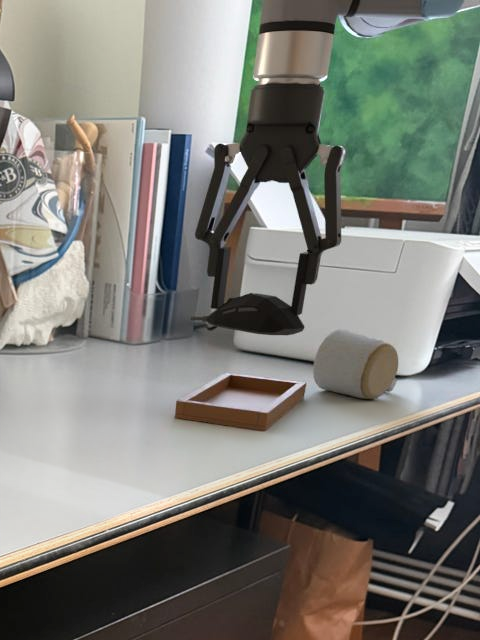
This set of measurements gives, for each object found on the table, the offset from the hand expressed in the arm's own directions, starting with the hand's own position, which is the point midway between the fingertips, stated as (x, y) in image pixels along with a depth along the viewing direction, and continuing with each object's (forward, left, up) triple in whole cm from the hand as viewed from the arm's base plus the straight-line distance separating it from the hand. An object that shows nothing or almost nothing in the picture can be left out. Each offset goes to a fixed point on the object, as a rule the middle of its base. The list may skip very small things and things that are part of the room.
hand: (255, 310), depth 108 cm
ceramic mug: (-10, -17, -11) cm, 23 cm away
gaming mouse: (+1, 0, -2) cm, 3 cm away
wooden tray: (0, 0, -11) cm, 11 cm away
